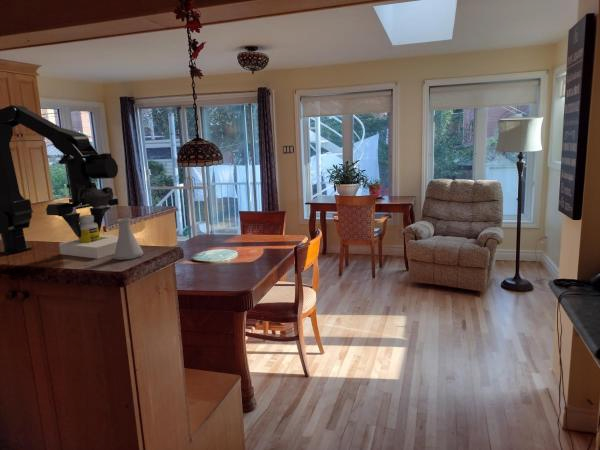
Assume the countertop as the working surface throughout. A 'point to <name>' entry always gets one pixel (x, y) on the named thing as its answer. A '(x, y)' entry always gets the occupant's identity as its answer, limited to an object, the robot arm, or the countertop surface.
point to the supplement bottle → (88, 229)
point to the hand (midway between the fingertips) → (88, 234)
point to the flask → (126, 242)
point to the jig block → (90, 247)
